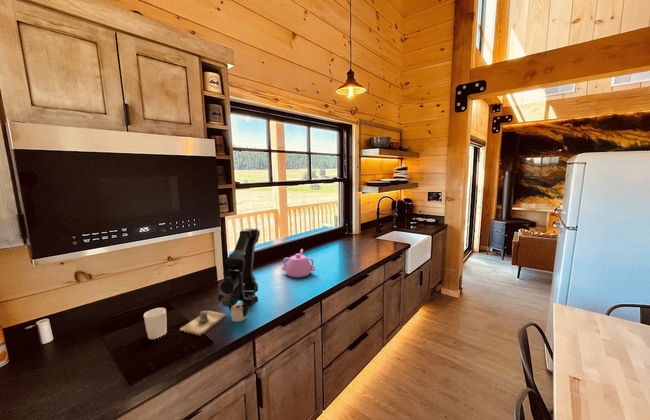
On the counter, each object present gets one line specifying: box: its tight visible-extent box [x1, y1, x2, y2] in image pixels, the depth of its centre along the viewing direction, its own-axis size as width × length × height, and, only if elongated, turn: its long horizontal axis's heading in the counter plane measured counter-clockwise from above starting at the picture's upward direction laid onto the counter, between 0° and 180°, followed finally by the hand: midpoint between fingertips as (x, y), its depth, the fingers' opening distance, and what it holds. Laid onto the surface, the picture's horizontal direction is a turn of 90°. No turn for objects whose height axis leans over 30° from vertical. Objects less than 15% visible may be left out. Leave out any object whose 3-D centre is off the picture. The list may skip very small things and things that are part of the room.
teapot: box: [281, 248, 316, 278], centre depth 176 cm, size 22×22×14 cm
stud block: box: [179, 310, 227, 337], centre depth 119 cm, size 16×11×5 cm
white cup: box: [143, 307, 168, 340], centre depth 111 cm, size 8×8×10 cm
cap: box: [230, 302, 247, 323], centre depth 123 cm, size 7×7×6 cm
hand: (238, 315), depth 123 cm, fingers closed on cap, 6 cm apart
